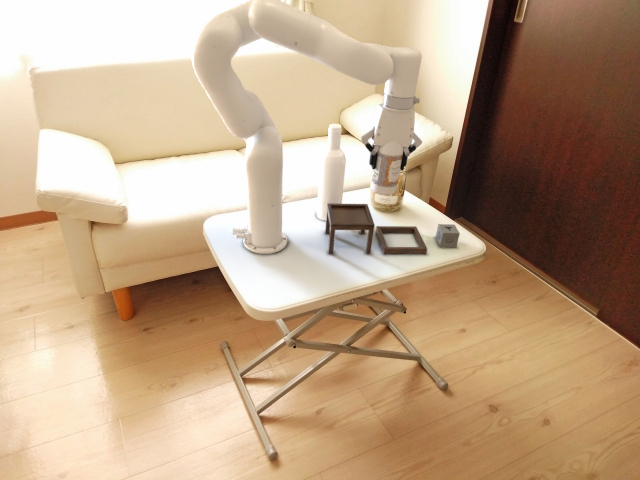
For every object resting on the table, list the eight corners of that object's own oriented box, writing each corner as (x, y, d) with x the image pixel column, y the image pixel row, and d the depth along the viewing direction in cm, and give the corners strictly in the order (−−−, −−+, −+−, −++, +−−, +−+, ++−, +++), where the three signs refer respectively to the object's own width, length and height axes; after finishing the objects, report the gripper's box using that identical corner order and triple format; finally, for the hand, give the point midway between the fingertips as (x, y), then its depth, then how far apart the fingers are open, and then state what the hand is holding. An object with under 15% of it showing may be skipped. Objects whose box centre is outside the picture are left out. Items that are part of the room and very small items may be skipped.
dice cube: (451, 238, 139) (454, 224, 136) (456, 247, 135) (459, 233, 132) (435, 238, 139) (438, 224, 136) (439, 247, 135) (443, 233, 132)
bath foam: (381, 197, 121) (394, 125, 111) (365, 187, 126) (376, 116, 115) (401, 192, 125) (414, 121, 114) (384, 182, 130) (396, 113, 119)
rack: (328, 254, 128) (331, 224, 123) (325, 231, 139) (327, 203, 133) (426, 254, 131) (432, 225, 126) (415, 231, 141) (420, 204, 136)
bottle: (341, 222, 144) (349, 130, 128) (316, 221, 144) (321, 129, 127) (340, 210, 150) (348, 121, 134) (316, 208, 150) (322, 120, 134)
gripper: (427, 99, 116) (414, 163, 126) (361, 95, 115) (353, 161, 124) (436, 107, 110) (422, 175, 120) (366, 104, 108) (357, 172, 118)
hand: (387, 167), depth 122 cm, fingers closed on bath foam, 7 cm apart
